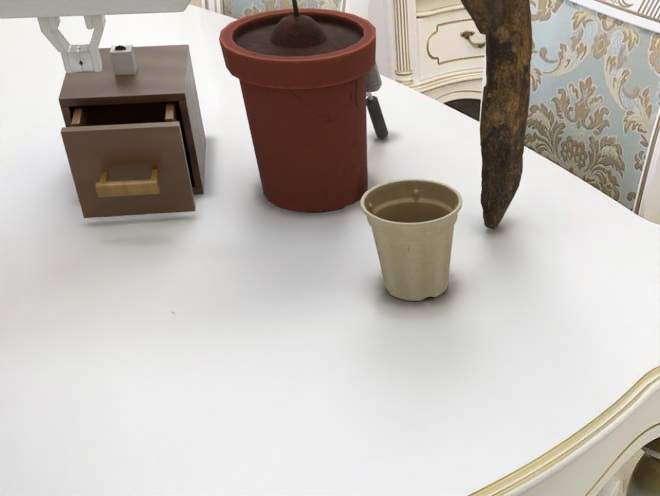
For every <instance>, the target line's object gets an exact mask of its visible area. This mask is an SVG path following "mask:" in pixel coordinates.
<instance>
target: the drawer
mask: <svg viewBox="0 0 660 496" xmlns="http://www.w3.org/2000/svg"><path fill="white" fill-rule="evenodd" d="M71 126H72V127H66V126H65V127H64V126H63V127H61V130H60V136H61V139H62V143H63V147H64V151H65V154H66V157H67V161H68V165H69V169H70V173H71V176H72V180H73V184H74V187H75V190H76V194H77V198H78V202H79V206H80V209H81V213H82V216H83V218H84V219H93V218H112V217H125V216H140V215H141V216H143V215H158V214H175V213H191V212H196V211H197V210H196V207H197V206H196V202H195V196H194V195H195V194H193V190H192V185H191V180H190V168H191V163H190V158H189V153H188V148H187V142H186V137H185V132H184V127H183V122H182V117H181V111H180V106H179V101H173V102H153V103H132V104H112V105H92V106H76V107H75V111H74V115H73V119H72V123H71Z"/></svg>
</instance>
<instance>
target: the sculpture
mask: <svg viewBox="0 0 660 496" xmlns="http://www.w3.org/2000/svg"><path fill="white" fill-rule="evenodd" d="M460 3H461V4H462V6H463V8H464V9H465V10H466V12H467V14H468V15H469V16H470V18H471V19H472V22H473V23H474V25H475V27H476V29H477V31H478V32H479V34H480V35H485V76H486V83H485V85H484V86H483V88H482V89H483V90H482V99H481V107H480V108H481V109H480V122H479V141H480V142H479V143H480V144H479V145H480V155H481V182H480V186H481V192H480V205H481V208H482V218H483V225H484V227H485V228H487V229H489V230H495V229H496V228H497V227H498V226H499V225H500V223H501V222H502V220H503V218H504V216H505V214H506V213H507V211H508V209H509V207H510V205H511V203H512V202H513V200H514V198H515V196H516V194H517V191H518V189H519V187H520V184H521V181H522V175H523V171H524V170H523V169H524V152H525V143H526V132H527V123H528V117H529V107H530V99H531V61H532V56H533V27H532V26H533V25H532V13H531V12H532V11H531V4H530V3H531V2H530V0H460Z"/></svg>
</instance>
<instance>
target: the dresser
mask: <svg viewBox="0 0 660 496" xmlns="http://www.w3.org/2000/svg"><path fill="white" fill-rule="evenodd" d="M98 48H99V52H100V56H101V61H102V71H101V72H80V73H66V72H65V74H64V78H63V81H62V85H61V88H60V92H59V95H58V99H57V100H58V104H59V107H60V111H61V114H62V119H63V122H64V126H65V127H72V126H71V123H72V119H73V115H74V111H75V107H76V106H92V105H112V104H132V103H153V102H173V101H179V106H180V111H181V117H182V122H183V127H184V132H185V137H186V142H187V148H188V153H189V158H190V163H191V168H190V180H191V185H192V190H193V195H203V194H205V193H204V192H205V169H206V168H205V167H206V147H207V146H206V143H207V140H206V135H205V128H204V124H203V123H204V122H203V118H202V117H203V116H202V111H201V106H200V101H199V95H198V89H197V84H196V78H195V74H194V73H195V72H194V69H193V68H194V67H193V62H192V57H191V51H190V46H189V44H169V45H167V44H166V45H144V46H133V49H134V54H135V59H136V63H137V71H136V74H132V75H115V74H114V69H113V65H112V60H111V56H110V50H111V47H101V48H100V47H98Z"/></svg>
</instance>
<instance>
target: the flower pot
mask: <svg viewBox="0 0 660 496" xmlns="http://www.w3.org/2000/svg"><path fill="white" fill-rule="evenodd" d="M359 205H360V209H361V211H362V213H363V214H364V215H365V216H366V220H367V223H368V225H369V226H370V228H371V231H372V236H373V239H374V244H375V248H376V253H377V257H378V262H379V266H380V271H381V275H382V280H383V286H384V288H385V289H386V290H387V291H388V293H389V294H390V295H391V296H392V297H394V298H397V299H400V300H403V301H410V302H421V301H423V300H424V299H427V298H438V297H440V296H441V295H442V294H444V292H446V290H447V289H448V287H449V280H450V279H449V278H450V267H451V260H452V259H451V258H452V247H453V240H454V239H453V238H454V231H455V230H454V229H455V225H456V223H457V221H458V217H459V214H458V213H460V211H461V209H462V207H463V197H462V194H461V193H460V192H459V191H458V190H457V189H456V188H454V187H452V185H449V184H447V183H444V182H443V181H442V182H441V181H436V180H431V179H424V178H404V179H403V178H402V179H396V180H389V181H386V182H382V183H379V184H377V185H375V186H372V187H371V188H368V191H366V192H365V193H364V194H363V196H362V198H361V199H360V200H359Z"/></svg>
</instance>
